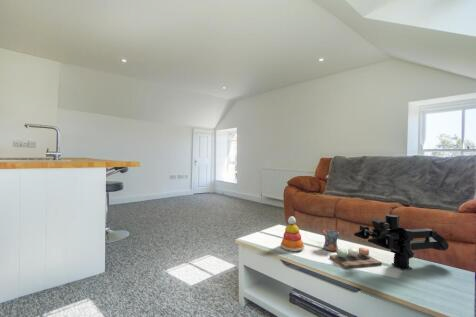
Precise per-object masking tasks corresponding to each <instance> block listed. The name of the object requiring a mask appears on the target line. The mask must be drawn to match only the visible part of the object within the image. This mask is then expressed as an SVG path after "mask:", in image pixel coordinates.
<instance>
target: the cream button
mask: <svg viewBox="0 0 476 317" xmlns="http://www.w3.org/2000/svg"><path fill="white" fill-rule="evenodd" d="M358 253H359V249H356V248H353V247H351V248H348V249H347V254H349V255H351V256H358Z"/></svg>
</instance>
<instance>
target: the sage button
mask: <svg viewBox="0 0 476 317" xmlns="http://www.w3.org/2000/svg"><path fill="white" fill-rule="evenodd" d="M336 252H337V253H336V255H338V256H340V257H347V254H348V250H346V249H342V248H341V249H339V248H338V250H337V251H336Z"/></svg>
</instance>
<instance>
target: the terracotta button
mask: <svg viewBox="0 0 476 317" xmlns="http://www.w3.org/2000/svg"><path fill="white" fill-rule="evenodd" d="M358 253H359V254H361V255H369V256H370V249H369V248H366V247H358Z"/></svg>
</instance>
